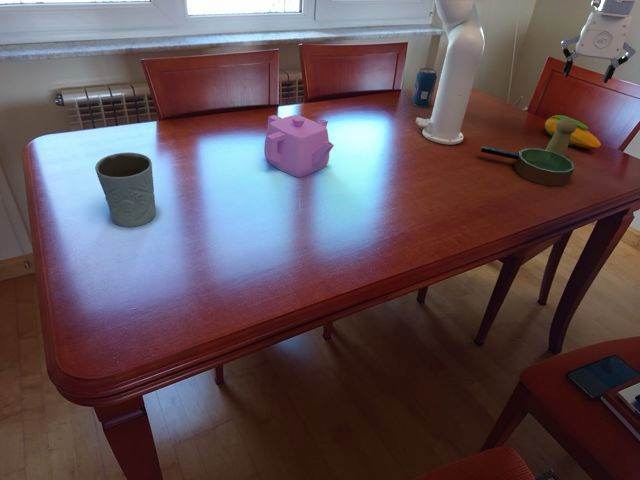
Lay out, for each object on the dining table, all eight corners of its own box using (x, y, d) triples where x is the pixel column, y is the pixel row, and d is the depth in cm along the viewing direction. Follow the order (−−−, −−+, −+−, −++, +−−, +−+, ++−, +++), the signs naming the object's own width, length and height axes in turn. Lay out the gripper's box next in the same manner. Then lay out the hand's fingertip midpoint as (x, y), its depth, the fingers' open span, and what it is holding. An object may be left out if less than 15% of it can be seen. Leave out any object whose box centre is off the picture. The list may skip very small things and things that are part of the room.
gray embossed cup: (137, 198, 96) (127, 147, 89) (171, 213, 92) (163, 162, 85) (97, 218, 89) (82, 165, 81) (132, 236, 85) (119, 182, 78)
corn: (559, 107, 143) (615, 131, 129) (551, 129, 148) (604, 154, 134) (543, 111, 141) (598, 135, 127) (536, 133, 146) (588, 159, 132)
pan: (475, 169, 120) (480, 155, 117) (480, 150, 130) (484, 136, 128) (569, 190, 114) (576, 176, 111) (565, 168, 124) (572, 155, 122)
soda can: (410, 100, 162) (417, 66, 155) (429, 102, 162) (436, 68, 155) (411, 106, 157) (418, 72, 149) (431, 108, 156) (439, 74, 149)
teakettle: (265, 147, 121) (265, 103, 113) (326, 150, 122) (330, 107, 115) (262, 177, 107) (262, 130, 100) (330, 180, 109) (335, 133, 101)
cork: (567, 156, 131) (583, 121, 125) (560, 162, 128) (576, 126, 121) (547, 149, 134) (561, 114, 128) (540, 154, 131) (554, 119, 124)
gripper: (577, 5, 107) (551, 76, 117) (657, 14, 102) (622, 87, 112) (574, 1, 112) (550, 70, 122) (650, 9, 108) (618, 80, 118)
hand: (584, 78), depth 117 cm, fingers open, 9 cm apart
